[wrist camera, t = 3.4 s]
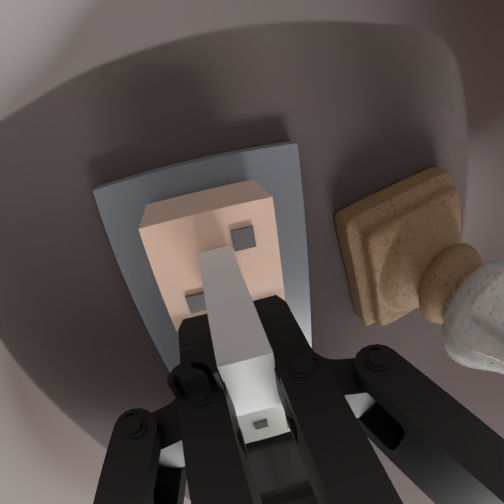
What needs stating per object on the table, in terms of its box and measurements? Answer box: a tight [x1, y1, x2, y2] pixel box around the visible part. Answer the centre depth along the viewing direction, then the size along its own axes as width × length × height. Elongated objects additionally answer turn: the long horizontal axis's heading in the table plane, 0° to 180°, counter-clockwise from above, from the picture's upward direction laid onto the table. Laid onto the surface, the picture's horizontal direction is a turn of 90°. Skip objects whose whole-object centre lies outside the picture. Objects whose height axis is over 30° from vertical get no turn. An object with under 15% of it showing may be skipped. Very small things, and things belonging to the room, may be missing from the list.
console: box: [93, 141, 312, 373], centre depth 20 cm, size 22×12×4 cm, turn 9°
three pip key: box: [139, 179, 285, 331], centre depth 15 cm, size 6×6×4 cm
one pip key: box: [237, 403, 290, 444], centre depth 21 cm, size 6×6×4 cm
